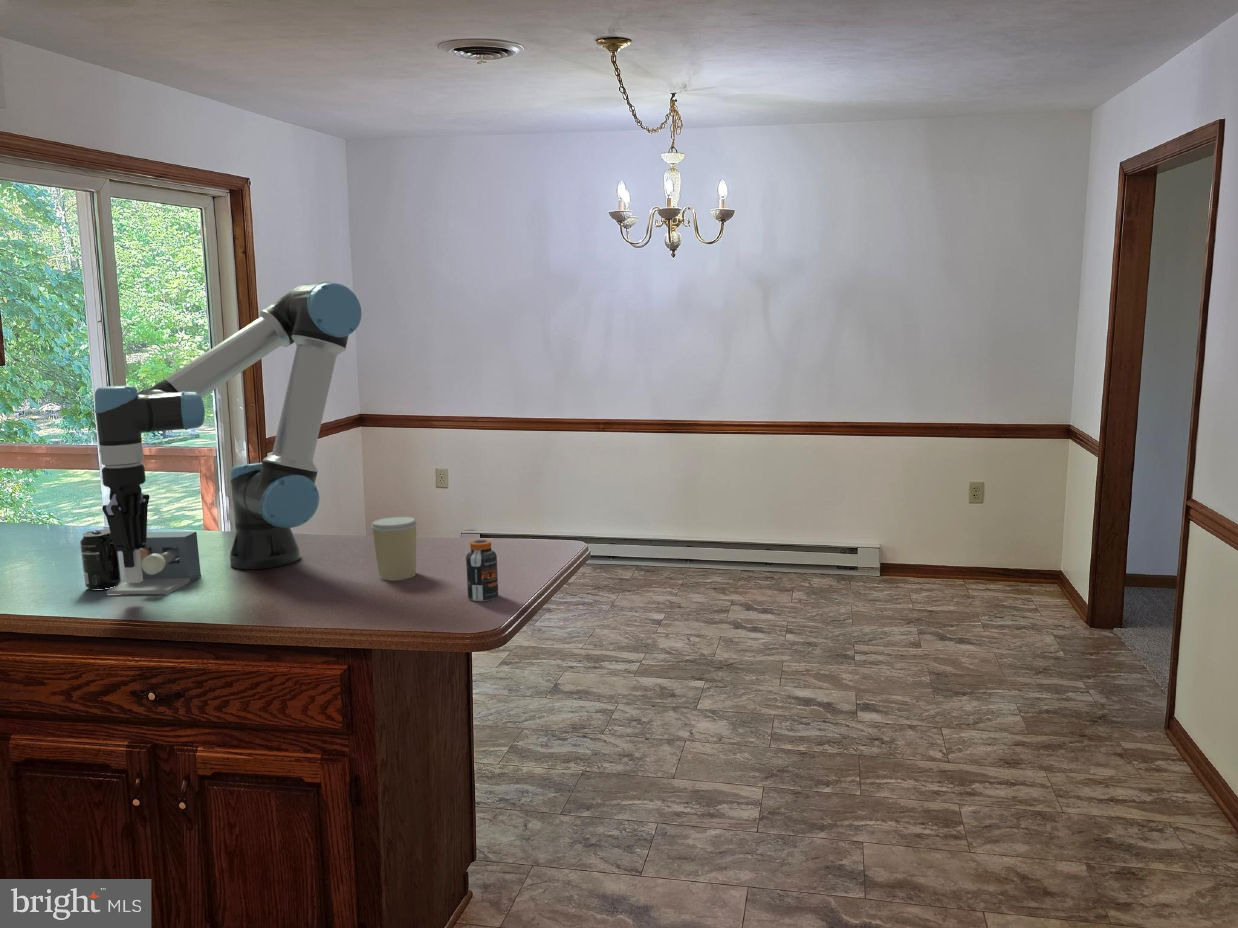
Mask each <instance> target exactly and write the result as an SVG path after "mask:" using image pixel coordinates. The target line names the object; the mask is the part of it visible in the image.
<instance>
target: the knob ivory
mask: <svg viewBox="0 0 1238 928" xmlns="http://www.w3.org/2000/svg"><path fill="white" fill-rule="evenodd" d="M178 558H179V549H178V547H174V548H172V549H170V550H168V551H166V552H164V553H162V554H157V553H154V554H151V555H149V556H147V557H145V558H144V559H143V560H142V568H143V570H144V571H145V572H146V573H147V574H150V575H154V574H156V573H158V572H160V571H162V570H163V569H164V568H165V565H166V564H168V563H170V562H172V561H174V560H176V559H178Z"/></svg>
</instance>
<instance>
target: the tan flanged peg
mask: <svg viewBox="0 0 1238 928" xmlns="http://www.w3.org/2000/svg"><path fill="white" fill-rule="evenodd" d="M140 554H141V565H142V560H143V559H144V558H145V557H147V556H149V555H151V554H152V551H151V548H140Z"/></svg>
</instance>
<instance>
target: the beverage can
mask: <svg viewBox="0 0 1238 928" xmlns="http://www.w3.org/2000/svg"><path fill="white" fill-rule="evenodd" d="M82 536H83V537H82V539H81V540H80V541H79V544H80V545H79V547H80V553H81V561H82V570H83V577H84V584H85V585H84V586H85V587H86V588H88V589H90V590H91V589H105V588H110V587H114V586H117V585H119V584H121V582H122V576H121V575H122V574H121V566H120V557H119V551H117V550H115V548H114V545H113V541H112V537H111V533H110V529H107V528H106V529H95V530H89V531H86V532H83V533H82Z"/></svg>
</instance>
